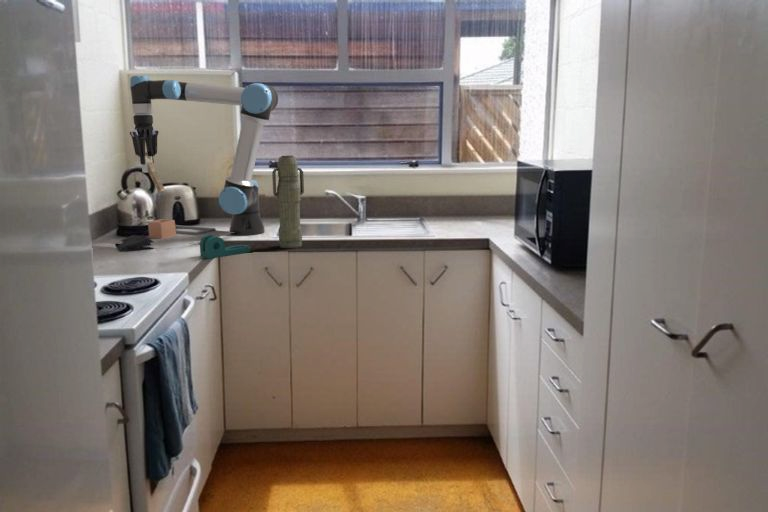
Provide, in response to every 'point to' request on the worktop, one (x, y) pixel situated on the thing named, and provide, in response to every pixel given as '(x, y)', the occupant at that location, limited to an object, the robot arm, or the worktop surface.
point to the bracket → (219, 248)
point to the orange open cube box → (161, 228)
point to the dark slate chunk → (134, 244)
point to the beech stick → (154, 175)
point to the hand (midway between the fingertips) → (148, 172)
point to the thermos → (289, 201)
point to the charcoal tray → (204, 229)
